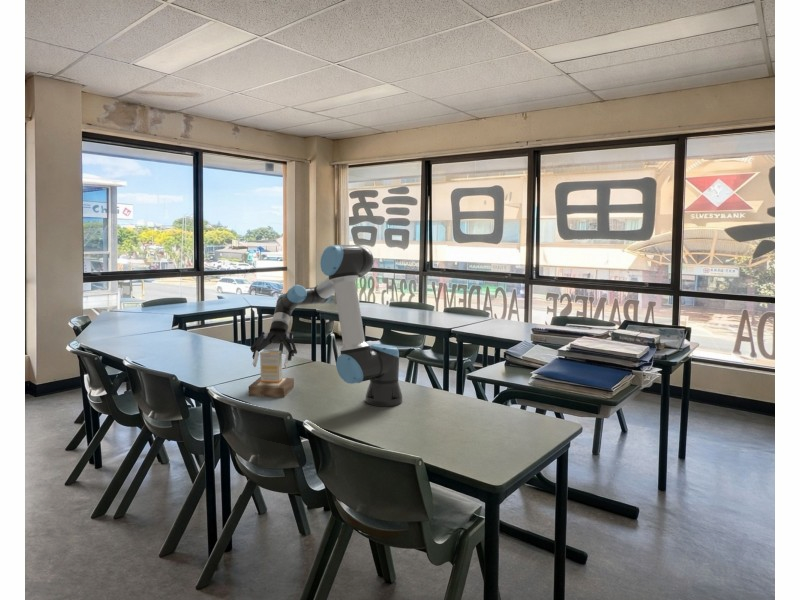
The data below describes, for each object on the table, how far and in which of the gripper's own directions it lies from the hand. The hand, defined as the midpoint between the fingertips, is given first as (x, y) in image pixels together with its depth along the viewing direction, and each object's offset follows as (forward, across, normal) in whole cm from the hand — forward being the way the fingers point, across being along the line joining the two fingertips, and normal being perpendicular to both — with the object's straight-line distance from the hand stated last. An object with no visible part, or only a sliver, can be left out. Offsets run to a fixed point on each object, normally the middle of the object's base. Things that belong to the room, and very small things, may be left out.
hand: (269, 366), depth 225 cm
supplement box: (+4, 0, -7) cm, 8 cm away
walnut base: (+7, 0, -10) cm, 12 cm away
